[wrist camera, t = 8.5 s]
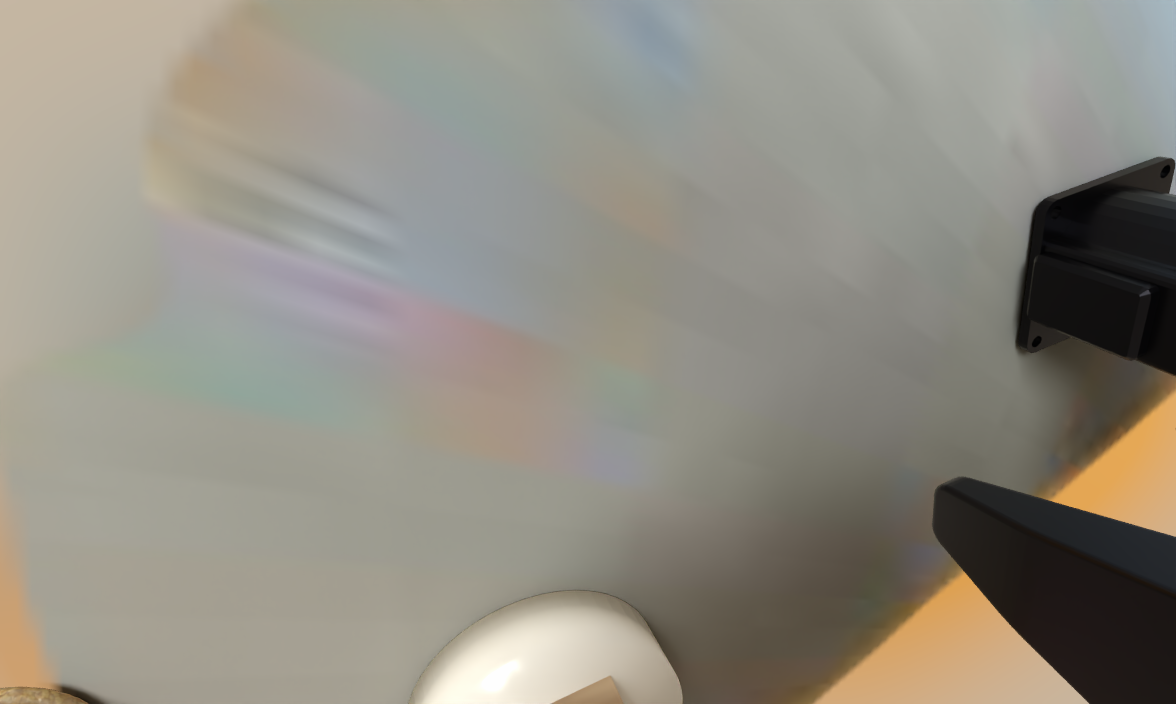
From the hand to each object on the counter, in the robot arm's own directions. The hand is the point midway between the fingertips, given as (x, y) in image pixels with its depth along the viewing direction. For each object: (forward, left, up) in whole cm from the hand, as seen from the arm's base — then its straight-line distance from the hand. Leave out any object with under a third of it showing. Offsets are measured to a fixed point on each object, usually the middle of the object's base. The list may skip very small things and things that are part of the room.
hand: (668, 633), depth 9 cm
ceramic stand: (+2, +16, -12) cm, 20 cm away
